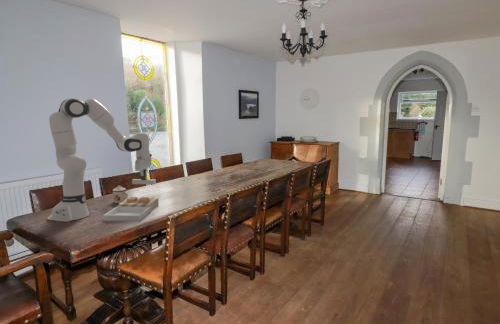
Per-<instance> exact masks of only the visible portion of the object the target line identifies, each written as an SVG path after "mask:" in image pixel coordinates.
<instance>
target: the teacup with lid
mask: <svg viewBox="0 0 500 324" xmlns="http://www.w3.org/2000/svg"><path fill="white" fill-rule="evenodd" d="M126 190H127V188H125V187H123V186H122V185H117V187H115V188H113V189H112V196H113V197H112V200H113V203H114V204H120V203H121V202H123V201H125V200H126V199H128V198H129V197H128V196H129V195H128V193H127V191H126Z"/></svg>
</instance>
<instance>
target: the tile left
mask: <svg viewBox="0 0 500 324" xmlns="http://www.w3.org/2000/svg"><path fill="white" fill-rule="evenodd" d="M129 197H130V198H129ZM129 197H127V202H136V201H137V200H138V199H137V197H138V196H129Z"/></svg>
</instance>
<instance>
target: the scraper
mask: <svg viewBox="0 0 500 324" xmlns="http://www.w3.org/2000/svg"><path fill="white" fill-rule="evenodd" d="M147 171H148V170H147ZM147 171H146V170H143V173H144V176H141V175H140V178H139V179H138V178H132V179H131V183H132V185H156V183H157V181H156V179H148V177H147V175H148V173H147Z"/></svg>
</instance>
